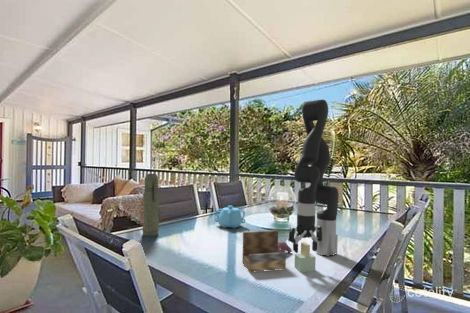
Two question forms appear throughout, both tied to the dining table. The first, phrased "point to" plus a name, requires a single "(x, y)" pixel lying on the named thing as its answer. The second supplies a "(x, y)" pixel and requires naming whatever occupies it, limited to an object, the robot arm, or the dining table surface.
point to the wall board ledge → (262, 251)
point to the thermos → (151, 206)
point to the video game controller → (283, 247)
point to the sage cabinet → (305, 259)
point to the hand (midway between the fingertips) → (305, 251)
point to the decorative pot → (230, 217)
